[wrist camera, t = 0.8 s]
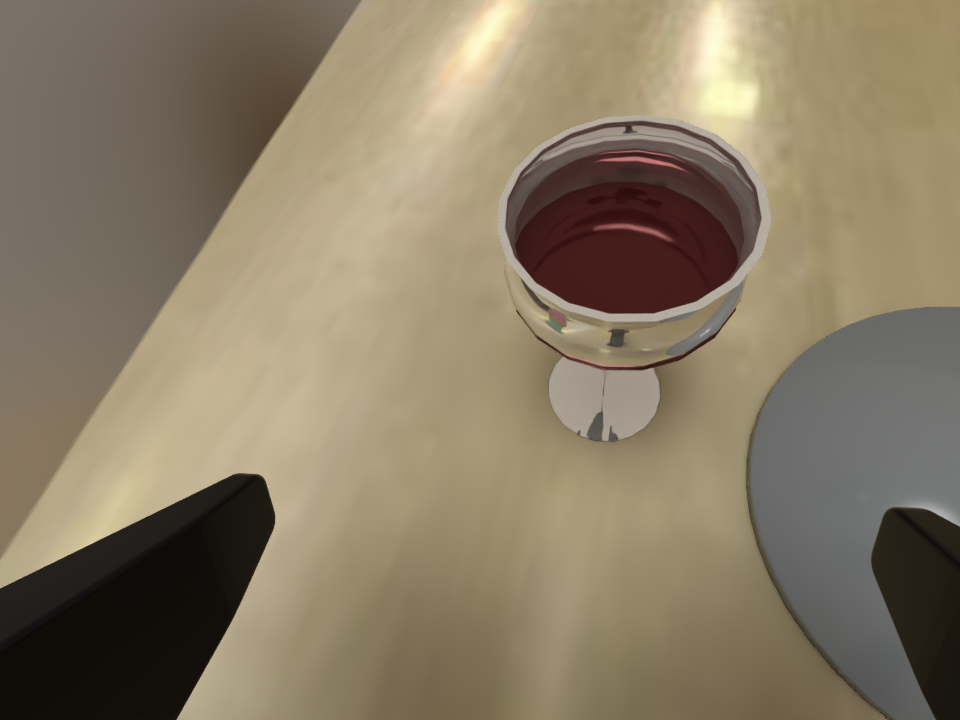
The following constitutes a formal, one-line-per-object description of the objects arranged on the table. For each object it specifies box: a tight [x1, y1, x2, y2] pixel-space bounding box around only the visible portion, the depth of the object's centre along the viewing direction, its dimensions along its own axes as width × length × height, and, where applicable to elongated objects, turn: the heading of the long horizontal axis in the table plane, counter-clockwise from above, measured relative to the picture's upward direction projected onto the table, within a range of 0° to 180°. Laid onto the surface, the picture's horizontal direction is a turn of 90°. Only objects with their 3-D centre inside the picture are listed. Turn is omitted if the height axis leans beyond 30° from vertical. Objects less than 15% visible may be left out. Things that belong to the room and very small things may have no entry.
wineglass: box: [497, 115, 771, 441], centre depth 18 cm, size 7×7×12 cm
